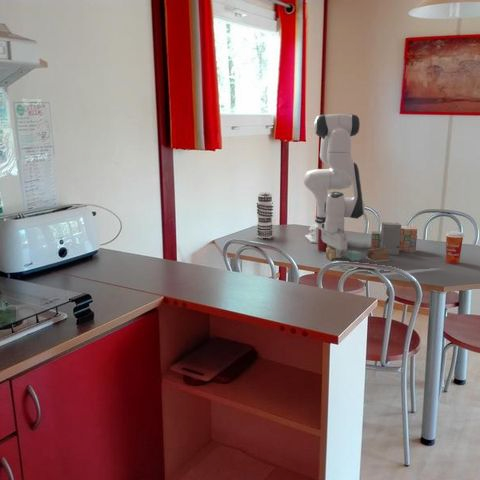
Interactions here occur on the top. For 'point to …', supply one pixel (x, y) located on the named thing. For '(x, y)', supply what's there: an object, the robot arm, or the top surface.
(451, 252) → the paper cup
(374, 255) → the walnut block
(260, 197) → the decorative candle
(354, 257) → the teal cube
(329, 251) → the oak cube
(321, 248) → the soda can
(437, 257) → the top surface
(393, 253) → the skincare box
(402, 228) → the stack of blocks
